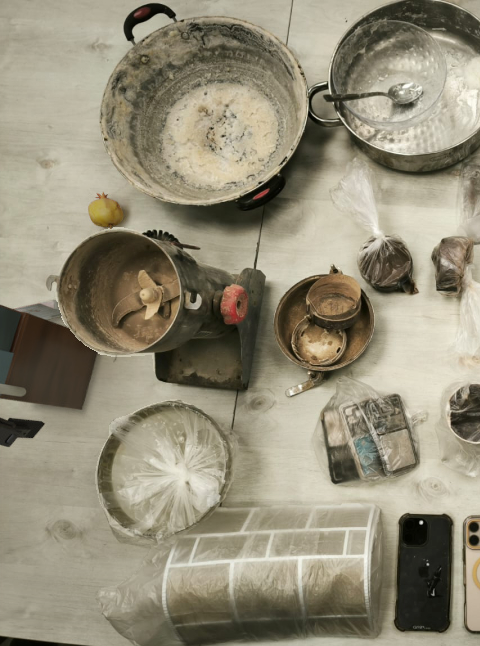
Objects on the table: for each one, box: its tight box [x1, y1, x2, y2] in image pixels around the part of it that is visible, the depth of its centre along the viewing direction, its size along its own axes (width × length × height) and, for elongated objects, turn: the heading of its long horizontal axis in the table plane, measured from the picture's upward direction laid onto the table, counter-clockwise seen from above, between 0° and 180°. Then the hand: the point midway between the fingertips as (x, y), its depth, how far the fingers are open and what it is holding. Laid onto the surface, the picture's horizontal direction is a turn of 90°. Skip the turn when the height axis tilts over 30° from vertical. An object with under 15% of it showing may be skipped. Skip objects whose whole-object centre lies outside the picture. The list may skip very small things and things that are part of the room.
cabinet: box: [0, 304, 99, 410], centre depth 105 cm, size 10×16×34 cm, turn 173°
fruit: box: [87, 191, 124, 230], centre depth 126 cm, size 7×7×10 cm
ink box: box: [13, 299, 63, 320], centre depth 119 cm, size 2×11×10 cm, turn 104°
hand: (4, 404), depth 85 cm, fingers open, 13 cm apart
